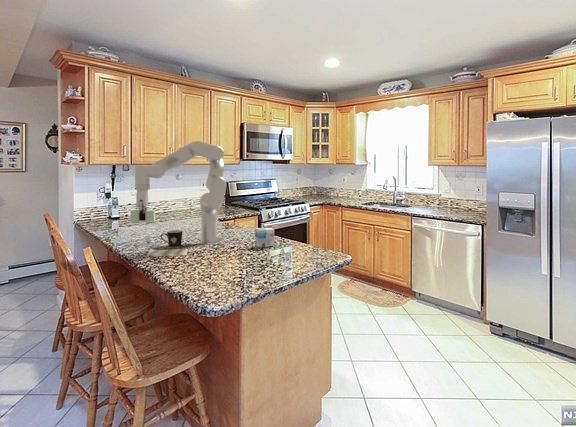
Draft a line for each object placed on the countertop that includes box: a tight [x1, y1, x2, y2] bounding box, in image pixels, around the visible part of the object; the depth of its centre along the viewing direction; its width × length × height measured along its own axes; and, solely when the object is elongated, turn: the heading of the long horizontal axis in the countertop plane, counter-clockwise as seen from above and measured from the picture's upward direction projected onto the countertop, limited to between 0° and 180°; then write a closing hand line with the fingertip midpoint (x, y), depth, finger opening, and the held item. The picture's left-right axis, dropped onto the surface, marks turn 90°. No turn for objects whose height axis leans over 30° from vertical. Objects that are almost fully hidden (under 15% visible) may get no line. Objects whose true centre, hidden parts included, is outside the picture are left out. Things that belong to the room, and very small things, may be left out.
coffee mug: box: [160, 229, 183, 248], centre depth 209 cm, size 12×9×10 cm
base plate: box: [146, 248, 188, 257], centre depth 192 cm, size 20×14×2 cm
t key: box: [138, 234, 158, 247], centre depth 215 cm, size 2×10×6 cm, turn 102°
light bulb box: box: [254, 227, 275, 248], centre depth 218 cm, size 11×7×11 cm, turn 112°
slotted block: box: [130, 209, 156, 223], centre depth 200 cm, size 12×6×6 cm, turn 103°
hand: (143, 219), depth 200 cm, fingers closed on slotted block, 6 cm apart
